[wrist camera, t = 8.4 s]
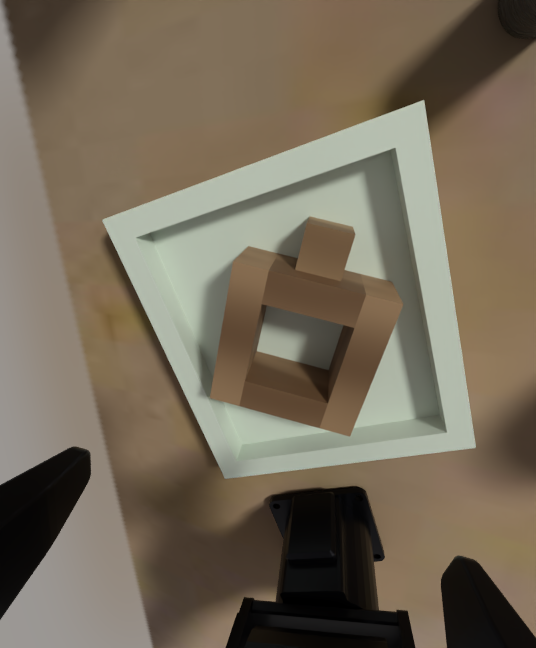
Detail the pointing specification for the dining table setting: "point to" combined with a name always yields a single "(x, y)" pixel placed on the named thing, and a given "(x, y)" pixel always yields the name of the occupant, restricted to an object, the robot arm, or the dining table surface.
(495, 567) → the dining table surface
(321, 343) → the tray
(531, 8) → the cylinder
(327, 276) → the ring
